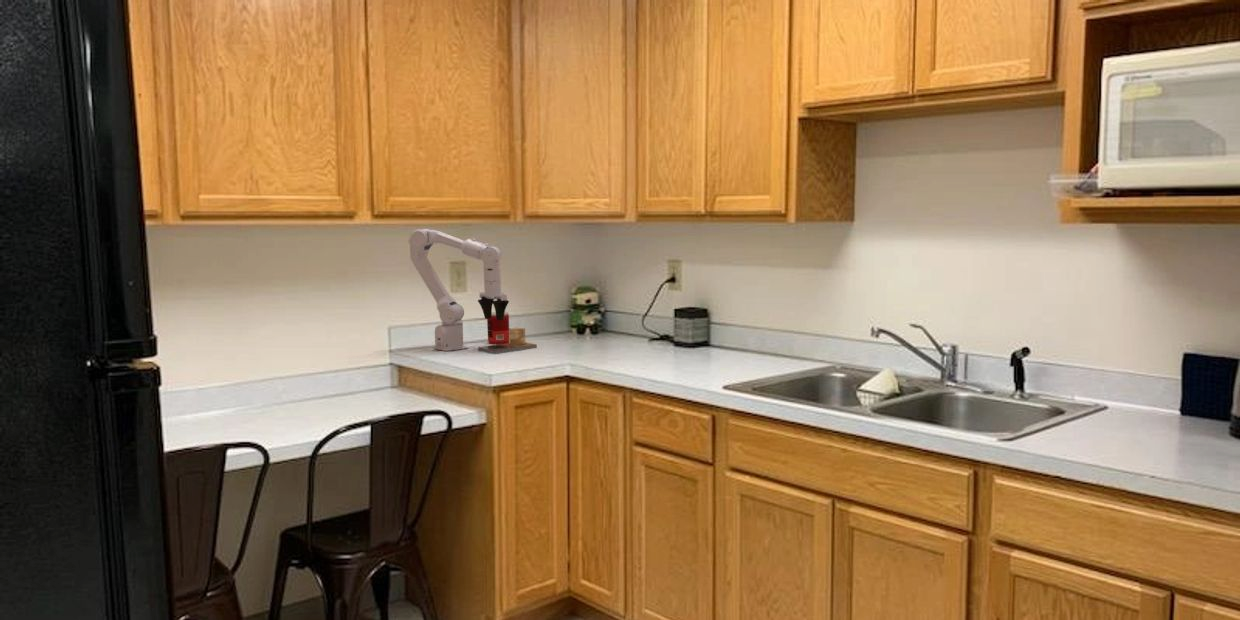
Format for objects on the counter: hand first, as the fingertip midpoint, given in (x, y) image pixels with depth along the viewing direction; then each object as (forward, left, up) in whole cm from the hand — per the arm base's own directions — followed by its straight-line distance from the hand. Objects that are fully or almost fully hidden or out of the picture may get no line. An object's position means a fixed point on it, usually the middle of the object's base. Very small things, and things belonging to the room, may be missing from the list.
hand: (493, 319), depth 319 cm
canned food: (+9, +11, -11) cm, 18 cm away
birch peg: (+7, -4, -11) cm, 13 cm away
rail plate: (+3, -4, -10) cm, 11 cm away
